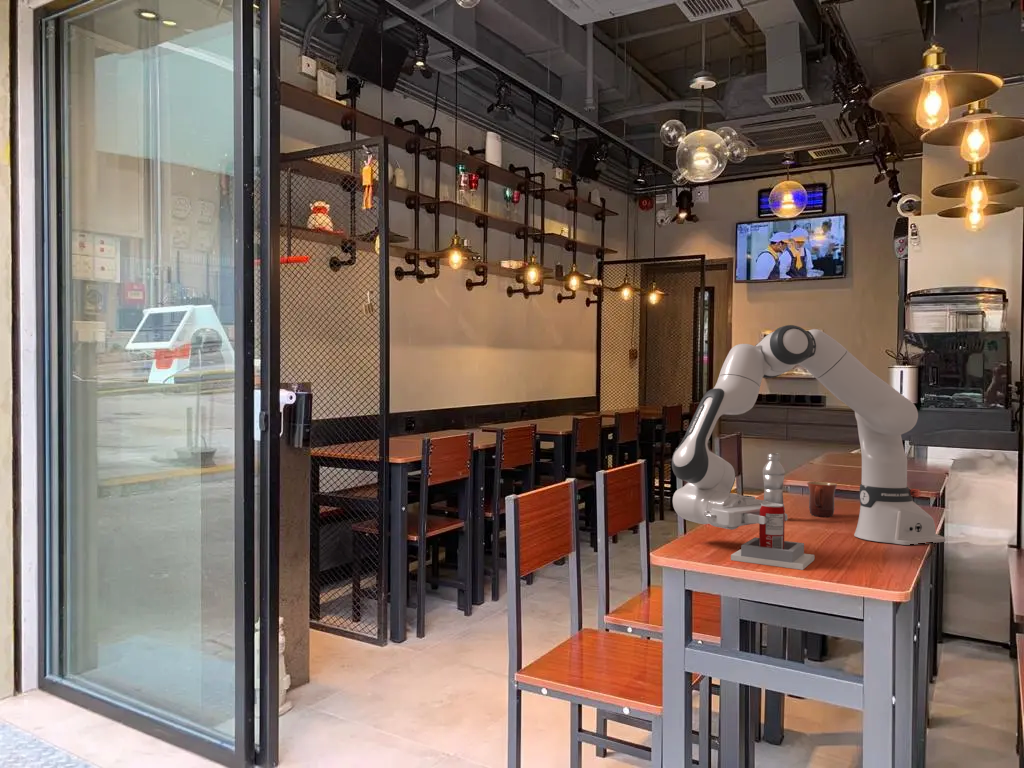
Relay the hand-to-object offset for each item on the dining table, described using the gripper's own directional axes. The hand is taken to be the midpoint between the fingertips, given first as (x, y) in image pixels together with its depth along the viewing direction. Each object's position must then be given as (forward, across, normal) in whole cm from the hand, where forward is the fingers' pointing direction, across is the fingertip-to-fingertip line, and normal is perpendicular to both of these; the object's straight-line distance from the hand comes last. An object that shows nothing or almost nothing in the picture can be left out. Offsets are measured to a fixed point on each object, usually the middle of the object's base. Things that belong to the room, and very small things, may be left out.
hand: (776, 519), depth 178 cm
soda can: (-1, 0, +9) cm, 9 cm away
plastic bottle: (-36, +49, +10) cm, 61 cm away
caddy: (-1, 0, +10) cm, 10 cm away
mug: (-32, +66, +10) cm, 74 cm away
